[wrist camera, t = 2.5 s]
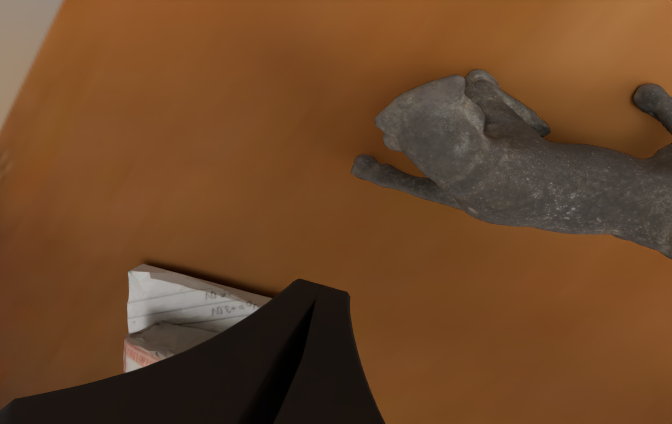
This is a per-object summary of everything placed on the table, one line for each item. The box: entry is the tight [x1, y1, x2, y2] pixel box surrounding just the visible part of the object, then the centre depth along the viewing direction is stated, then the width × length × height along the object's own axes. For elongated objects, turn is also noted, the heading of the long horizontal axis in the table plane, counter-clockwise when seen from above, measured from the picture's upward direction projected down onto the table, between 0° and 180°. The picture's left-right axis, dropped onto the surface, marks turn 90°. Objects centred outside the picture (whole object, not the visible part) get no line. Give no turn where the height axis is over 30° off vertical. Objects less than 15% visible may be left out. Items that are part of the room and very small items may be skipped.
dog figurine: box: [351, 70, 672, 259], centre depth 15 cm, size 12×6×7 cm, turn 79°
